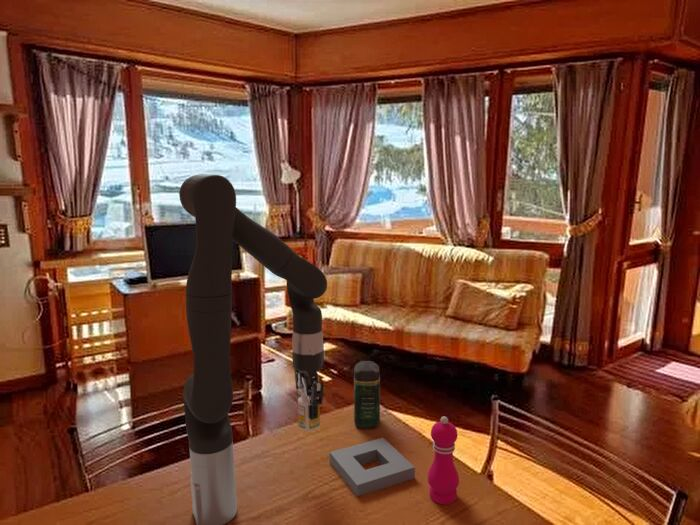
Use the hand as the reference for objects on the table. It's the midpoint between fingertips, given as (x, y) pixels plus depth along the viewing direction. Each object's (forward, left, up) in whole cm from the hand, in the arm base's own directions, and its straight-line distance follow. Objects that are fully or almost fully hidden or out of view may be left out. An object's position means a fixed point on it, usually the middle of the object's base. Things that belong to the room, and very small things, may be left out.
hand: (308, 412), depth 126 cm
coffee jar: (+25, +17, -17) cm, 35 cm away
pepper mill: (+24, -23, -17) cm, 37 cm away
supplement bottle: (0, 0, -4) cm, 4 cm away
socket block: (+14, -6, -16) cm, 22 cm away
